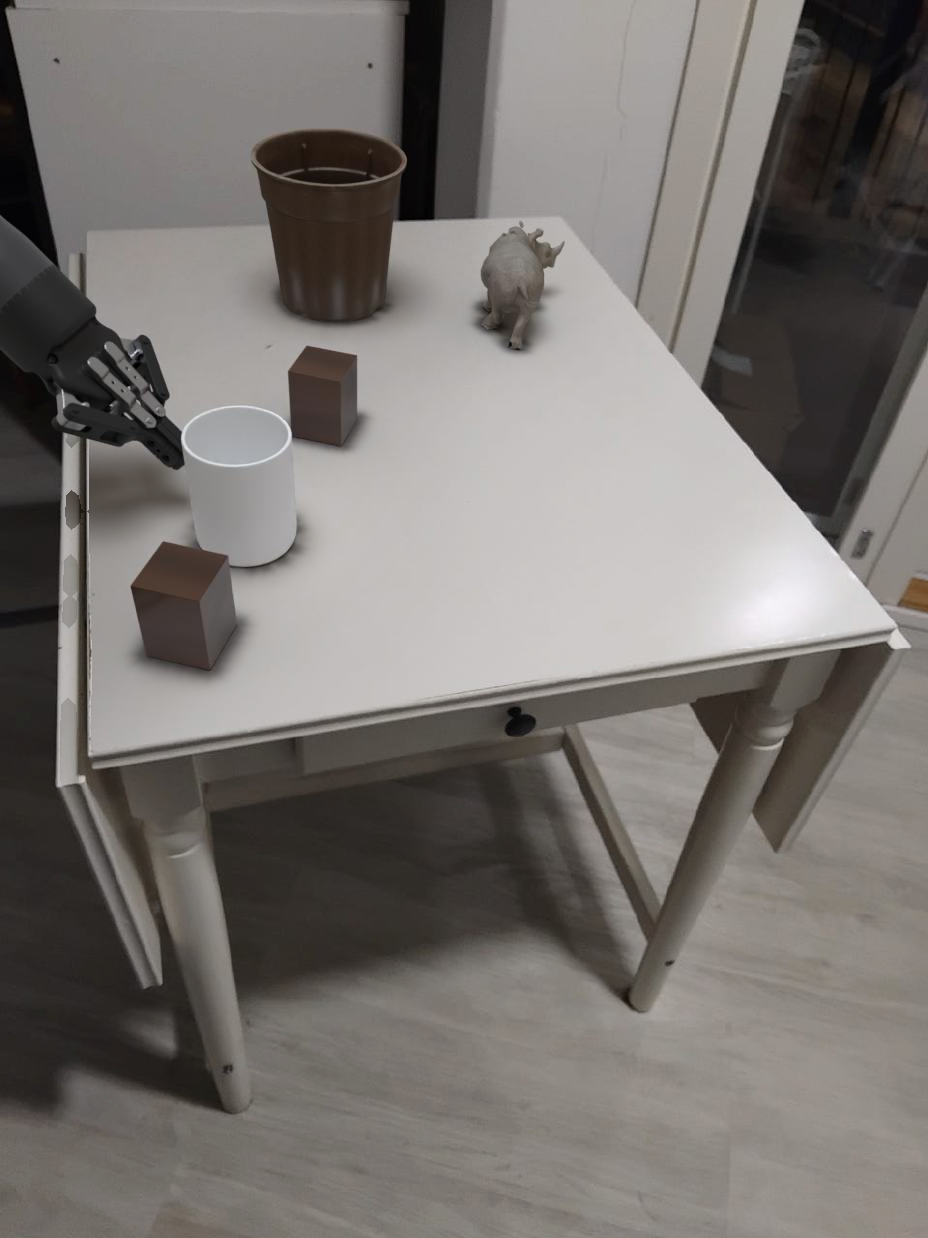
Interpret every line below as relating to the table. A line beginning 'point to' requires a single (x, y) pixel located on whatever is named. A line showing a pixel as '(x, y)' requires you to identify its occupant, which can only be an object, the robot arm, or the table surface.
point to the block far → (323, 395)
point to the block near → (185, 605)
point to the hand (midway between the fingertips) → (186, 460)
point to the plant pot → (330, 217)
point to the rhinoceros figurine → (516, 278)
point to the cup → (241, 483)
